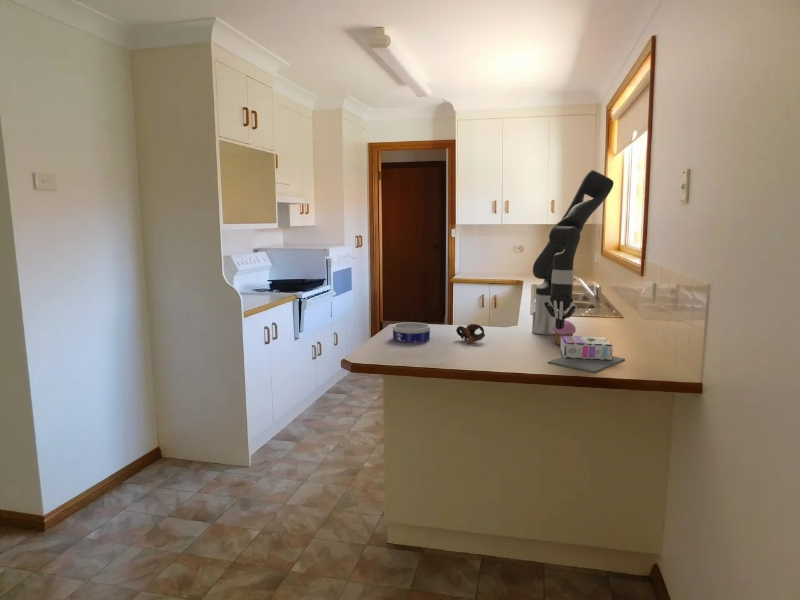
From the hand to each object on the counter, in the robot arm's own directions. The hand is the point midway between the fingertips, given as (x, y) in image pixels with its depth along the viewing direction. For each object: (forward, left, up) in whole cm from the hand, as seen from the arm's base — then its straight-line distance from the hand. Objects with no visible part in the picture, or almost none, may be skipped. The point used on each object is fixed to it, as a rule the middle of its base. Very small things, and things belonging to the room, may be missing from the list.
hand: (559, 329), depth 201 cm
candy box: (0, +2, -7) cm, 7 cm away
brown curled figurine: (-37, -5, -10) cm, 39 cm away
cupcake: (-8, +18, -10) cm, 22 cm away
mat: (+11, 0, -10) cm, 15 cm away
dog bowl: (-56, -20, -10) cm, 60 cm away
